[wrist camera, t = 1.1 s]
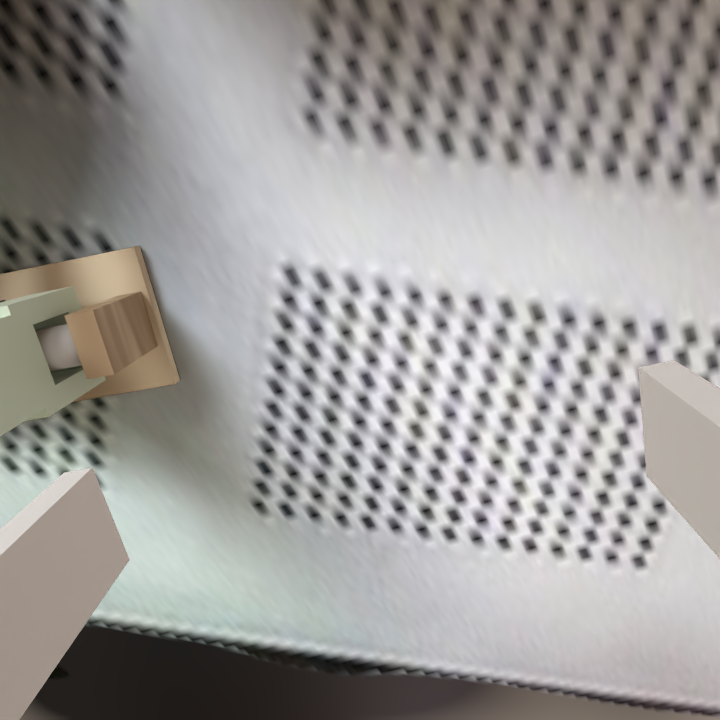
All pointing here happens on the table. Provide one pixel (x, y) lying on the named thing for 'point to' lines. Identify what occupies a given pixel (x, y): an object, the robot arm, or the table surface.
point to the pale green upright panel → (35, 359)
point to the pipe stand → (103, 321)
